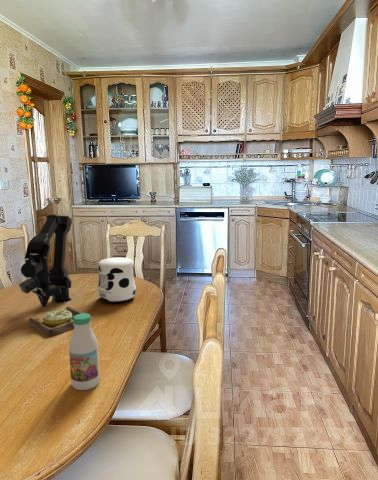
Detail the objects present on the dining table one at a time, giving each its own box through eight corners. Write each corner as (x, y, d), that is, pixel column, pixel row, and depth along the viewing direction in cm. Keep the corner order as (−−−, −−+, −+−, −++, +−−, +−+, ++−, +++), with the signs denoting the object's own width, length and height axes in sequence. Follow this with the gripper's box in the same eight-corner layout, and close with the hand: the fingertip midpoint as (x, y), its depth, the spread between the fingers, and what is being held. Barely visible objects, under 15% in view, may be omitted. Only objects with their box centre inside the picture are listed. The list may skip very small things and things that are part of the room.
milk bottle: (74, 376, 105) (70, 311, 102) (101, 374, 106) (98, 310, 102) (68, 392, 98) (63, 322, 94) (97, 390, 98) (93, 321, 95)
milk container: (138, 292, 178) (136, 256, 175) (133, 305, 161) (132, 266, 158) (102, 292, 177) (100, 257, 174) (94, 305, 160) (92, 266, 157)
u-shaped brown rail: (68, 311, 154) (68, 306, 153) (90, 321, 143) (90, 315, 143) (29, 324, 141) (28, 318, 140) (50, 336, 131) (49, 330, 130)
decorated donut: (77, 320, 145) (77, 311, 145) (54, 330, 137) (53, 320, 136) (61, 314, 151) (60, 306, 150) (38, 323, 142) (37, 314, 142)
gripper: (10, 270, 146) (13, 307, 149) (32, 279, 134) (36, 319, 137) (36, 265, 154) (39, 300, 157) (60, 273, 142) (63, 310, 145)
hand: (43, 307), depth 149 cm, fingers closed
